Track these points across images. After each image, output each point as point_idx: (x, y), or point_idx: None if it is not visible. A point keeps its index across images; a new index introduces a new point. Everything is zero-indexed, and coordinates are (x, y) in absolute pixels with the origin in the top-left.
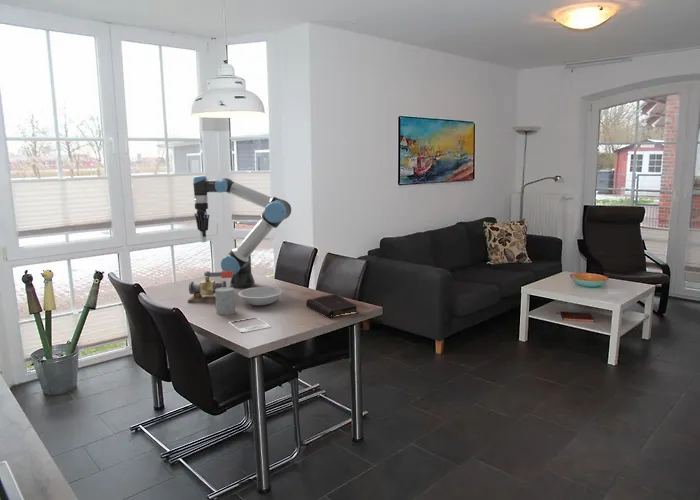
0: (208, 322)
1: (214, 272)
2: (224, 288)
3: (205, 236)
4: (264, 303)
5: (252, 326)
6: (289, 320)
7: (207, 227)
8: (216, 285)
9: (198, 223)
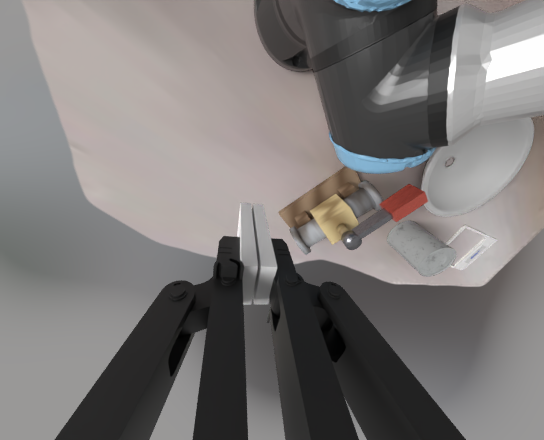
0: (401, 271)
1: (371, 228)
2: (432, 258)
3: (282, 243)
4: (473, 182)
5: (470, 253)
6: (520, 206)
7: (360, 322)
8: (362, 214)
9: (148, 427)
